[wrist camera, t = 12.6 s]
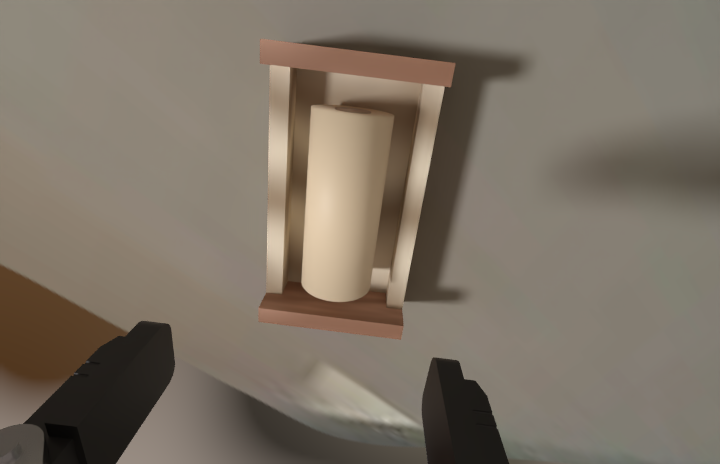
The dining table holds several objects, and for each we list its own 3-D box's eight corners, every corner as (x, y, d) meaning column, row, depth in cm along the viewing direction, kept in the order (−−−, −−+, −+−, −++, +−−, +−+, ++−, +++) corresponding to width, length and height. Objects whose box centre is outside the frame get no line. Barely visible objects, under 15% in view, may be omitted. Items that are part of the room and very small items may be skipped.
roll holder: (282, 44, 24) (259, 38, 20) (441, 64, 24) (455, 63, 20) (275, 286, 32) (258, 321, 27) (398, 301, 32) (400, 339, 27)
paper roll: (316, 101, 25) (305, 109, 20) (391, 110, 25) (398, 120, 20) (306, 262, 30) (296, 298, 25) (369, 269, 30) (370, 306, 25)
